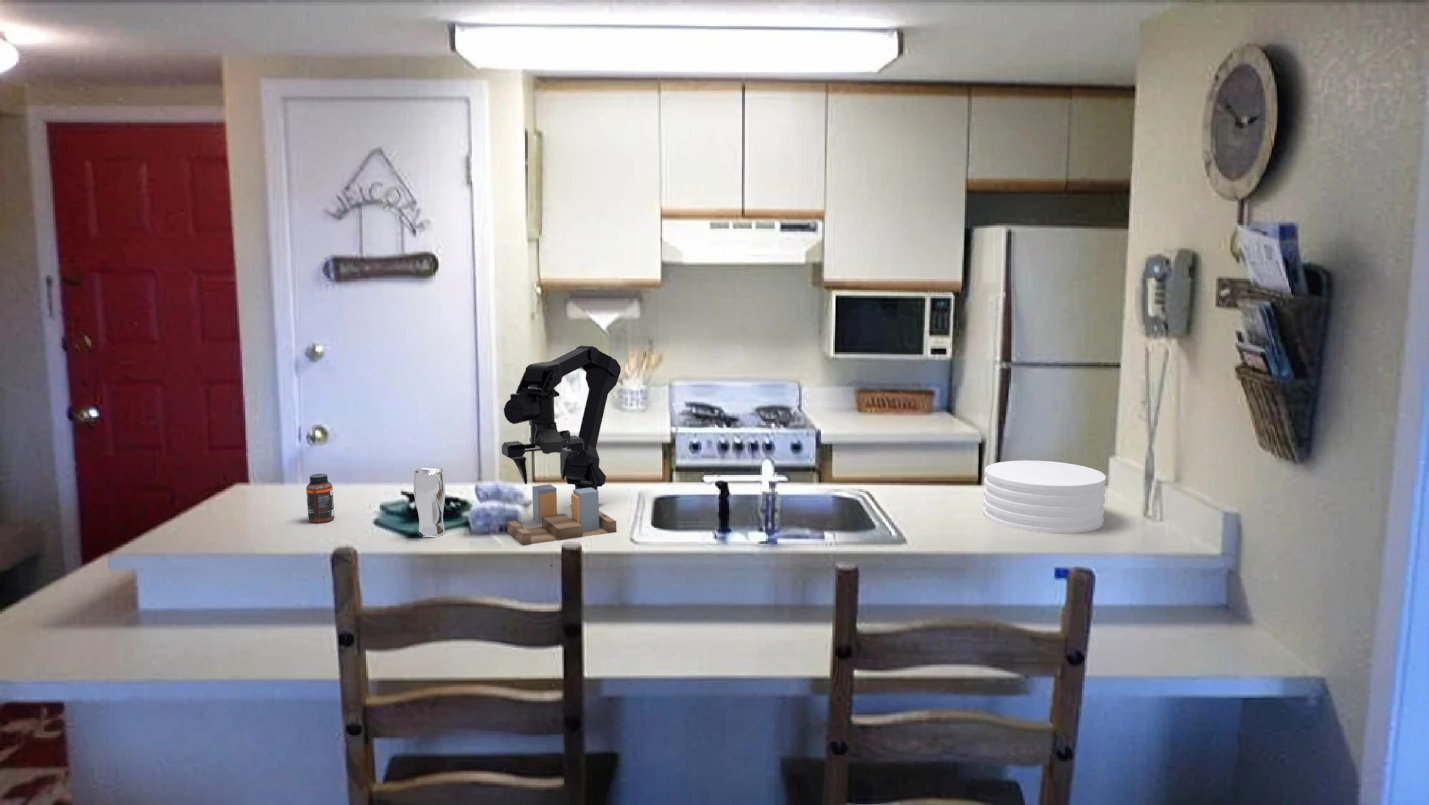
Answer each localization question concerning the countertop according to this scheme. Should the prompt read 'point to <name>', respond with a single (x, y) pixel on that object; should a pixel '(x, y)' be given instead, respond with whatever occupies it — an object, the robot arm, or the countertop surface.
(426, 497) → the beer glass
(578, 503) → the block
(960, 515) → the countertop surface
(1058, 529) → the plate stack
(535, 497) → the block
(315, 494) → the supplement bottle
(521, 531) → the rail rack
